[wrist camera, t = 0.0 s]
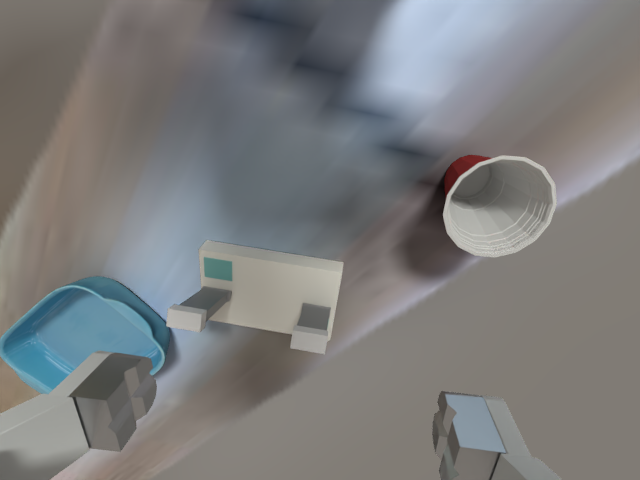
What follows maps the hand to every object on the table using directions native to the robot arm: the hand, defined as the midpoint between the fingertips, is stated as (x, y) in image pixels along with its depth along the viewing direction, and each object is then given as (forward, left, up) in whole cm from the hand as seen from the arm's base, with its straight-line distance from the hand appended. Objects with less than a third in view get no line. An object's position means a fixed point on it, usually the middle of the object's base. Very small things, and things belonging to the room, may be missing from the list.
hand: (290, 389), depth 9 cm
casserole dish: (+41, -46, -39) cm, 73 cm away
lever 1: (+25, -19, -35) cm, 47 cm away
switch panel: (+26, -11, -39) cm, 48 cm away
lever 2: (+27, -3, -35) cm, 44 cm away
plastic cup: (+5, +16, -39) cm, 42 cm away
